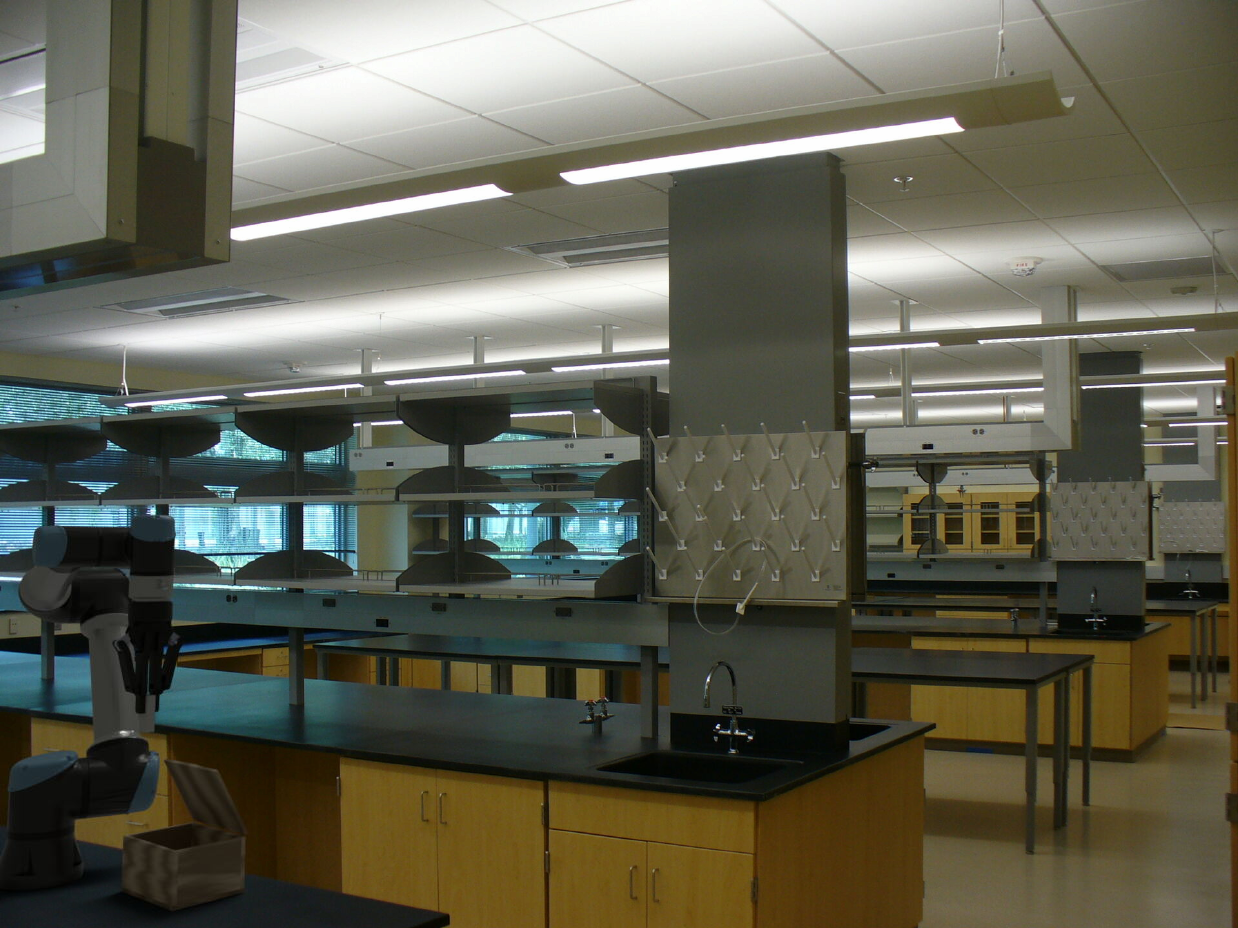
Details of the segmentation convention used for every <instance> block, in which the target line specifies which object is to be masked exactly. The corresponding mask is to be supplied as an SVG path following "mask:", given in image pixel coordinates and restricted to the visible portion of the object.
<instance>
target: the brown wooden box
mask: <svg viewBox="0 0 1238 928" xmlns="http://www.w3.org/2000/svg"><path fill="white" fill-rule="evenodd" d="M121 858H122V862H121V863H122V864H121V886H120V887H121V890H120V892H121V893H124V894H127V895H130V896H133V897H135V898H138V899H140V900H143V901H145V902H148V903H151V904H153V905H155V906H158V907H161V908H163V909H166V910H168V911H171V912H173V911H174V912H175V911H177V910H181V909H185V908H189V907H193V906H198V905H201V904H205V903H209V902H213V901H217V900H220V899H226V898H229V897H232V896H235V895H236V896H237V895H240V894H243V893H245V875H246V874H245V871H246V870H245V869H246V835H242V834H239V833H235V832H232V831H231V832H230V831H228V830H225V829H221V828H218V827H214V826H211V825H207V824H203V823H200V822H196V821H192V822H186V823H181V824H176V825H172V826H167V827H161V828H156V829H150V830H146V831H140V832H136V833H135V832H134V833H131V834H125V835H123V837H122V857H121Z"/></svg>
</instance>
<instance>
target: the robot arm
mask: <svg viewBox="0 0 1238 928" xmlns="http://www.w3.org/2000/svg"><path fill="white" fill-rule="evenodd" d="M130 523H131V525H130V526H87V525H86V526H83V525H81V526H80V525H78V526H77V525H59V524H54V525H45V526H38V527H37V528H36V529H35V530H34V532H33V538H32V545H31V546H32V548H31V549H32V550H31V552H32V553H31V555H32V563H33V564H34V566H33V567H32V568H31V569H29V570H28V571H26V573H24V575H23V576H22V577H21V580H20V582H19V585H18V589H17V590H18V594H17V595H18V599H19V602H20V603H21V605H22V606H23V608H25V610H26V611H27V612H29V613H30V614H32V615H33V616H35V617H37V618H39V619H41V620H43V621H46V622H49V623H54V624H60V625H64V624H65V625H66V624H71V625H72V624H75V625H77V624H79V630H80V632H81V635H83V636H84V637H86V638H87V639H88V645H89V646H88V648H89V668H90V669H89V670H90V686H91V687H90V690H91V691H90V692H91V707H92V726H93V743H92V744H90V745H89V747H87V749H86V752H85V753H86V756H85V757H79V755H78V752H77V751H76V750H63V751H61V750H59V751H58V750H57V751H52V752H46V753H42V754H37V755H34V756H30V757H27V758H23V759H21V760H18V762H16V763H15V764H14V765H13V766H12V767H11V768H10V772H9V781H8V787H7V792H8V802H7V803H8V808H7V825H6V842H5V845H4V847H3V850H2V853H1V855H0V889H1V890H4V891H5V890H6V891H33V890H34V891H36V890H43V889H49V888H54V887H58V886H59V887H60V886H63V885H67V884H70V883H73V882H76V881H78V880H79V879H81V878H82V877H83V876H84V862H83V857H82V854H81V851H80V848H79V845H78V842H77V838H76V833H75V827H76V825H75V824H76V821H77V820H84V819H85V820H87V819H95V818H100V817H101V818H102V817H104V818H105V817H112V816H119V815H121V816H122V815H126V816H128V815H129V814H135V813H140V812H145V811H147V810H149V809H150V808H151V807H152V806H153V804H154V803H155V802H154V801H155V799H156V795H157V792H158V785H159V777H160V766H161V765H160V764H161V763H160V762H161V761H160V755H159V752H158V751H156V750H150V743H149V740H148V739H146V738H144V737H143V736H142V735H141V733H146V734H148V733H154V732H155V727H156V726H155V722H156V721H155V719H156V718H155V717H156V713H159V711H160V696H161V695H163V693H164V692H165V691H169V690H170V689H171V687H172V683H173V679H174V674H175V670H176V667H177V663H178V658H179V655H180V651H181V649H182V647H183V645H184V644H185V642H186V638H185V637H184V636H179V634H177V633H176V632H174V631H175V629H174V626H173V625H172V620H173V616H174V615H173V613H174V610H173V609H174V602H173V601H172V600H170V598H171V599H172V598H173V597H174V573H175V572H174V571H175V570H174V569H175V549H176V548H175V547H176V546H175V545H176V544H175V543H176V542H175V541H176V537H177V532H176V520H175V518H174V517H173V516H171V515H168V514H167V515H166V514H137V515H134V516H133V517H132V518H131V522H130ZM124 567H125V568H124ZM126 567H127V568H126ZM167 643H168V645H167ZM166 645H167V648H166V651H165V646H166ZM164 652H165V653H164ZM164 655H165V656H164ZM163 657H164V658H163Z"/></svg>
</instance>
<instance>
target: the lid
mask: <svg viewBox="0 0 1238 928" xmlns="http://www.w3.org/2000/svg"><path fill="white" fill-rule="evenodd" d="M163 762H164V764H165V766H166V768H167V770H168V771H169V774H170V776H171V778H172V780H173V782H174V785H175V786H176V788H177V790H178V792H179V794H180V796H181V797H182V800H183V802H184V804H185V805H186V808H187V810H188V812H189V814H190V816H191V818H192V821H193V822H197V823H200V824H204V825H207V826H211V827H214V828H218V829H221V830H225V831H228V832H230V831H231V832H232V833H236V834H239V835H243V836H246V835H248V834H249V832H248V830H247V828H246V824H245V823H244V821H243V819H242V816H241V815H240V813H239V811H238V809H237V807H236V805H235V802H234V800H233V798H232V797H231V794H230V792H229V791H228V788H227V786H226V784H225V782H224V780H223V777H222V776H221V774H220V772H219V769H215V768H210V767H206V766H203V765H202V766H201V765H199V764H195V763H192V762H191V763H190V762H186V761H185V762H183V761H179V760H175V759H170V758H165V759H163Z"/></svg>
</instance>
